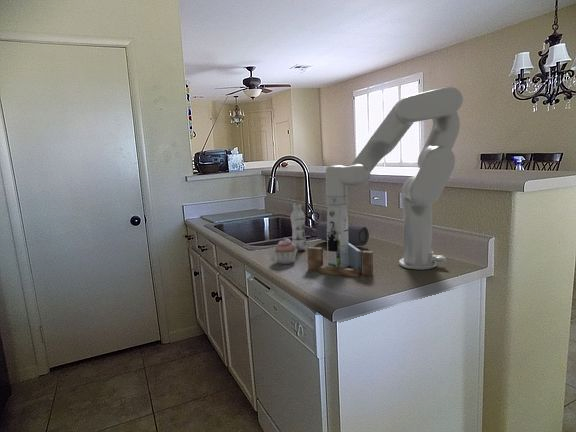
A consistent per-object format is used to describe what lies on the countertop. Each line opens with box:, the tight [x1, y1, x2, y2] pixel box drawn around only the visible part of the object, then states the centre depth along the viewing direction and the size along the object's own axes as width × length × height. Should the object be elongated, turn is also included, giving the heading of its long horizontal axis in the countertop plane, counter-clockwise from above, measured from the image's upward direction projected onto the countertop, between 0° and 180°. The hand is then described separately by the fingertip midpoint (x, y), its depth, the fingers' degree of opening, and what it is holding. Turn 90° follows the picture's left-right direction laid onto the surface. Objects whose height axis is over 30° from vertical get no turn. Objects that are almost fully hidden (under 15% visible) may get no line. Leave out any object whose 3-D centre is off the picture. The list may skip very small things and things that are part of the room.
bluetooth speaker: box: [316, 221, 370, 247], centre depth 168 cm, size 23×9×10 cm, turn 46°
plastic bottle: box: [289, 203, 307, 251], centre depth 162 cm, size 6×7×20 cm
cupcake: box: [273, 236, 299, 265], centre depth 146 cm, size 9×9×10 cm
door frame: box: [306, 246, 374, 278], centre depth 130 cm, size 23×4×8 cm, turn 63°
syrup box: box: [326, 228, 350, 268], centre depth 137 cm, size 6×6×14 cm
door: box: [348, 243, 363, 275], centre depth 134 cm, size 14×1×8 cm, turn 9°
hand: (337, 247), depth 137 cm, fingers open, 9 cm apart
